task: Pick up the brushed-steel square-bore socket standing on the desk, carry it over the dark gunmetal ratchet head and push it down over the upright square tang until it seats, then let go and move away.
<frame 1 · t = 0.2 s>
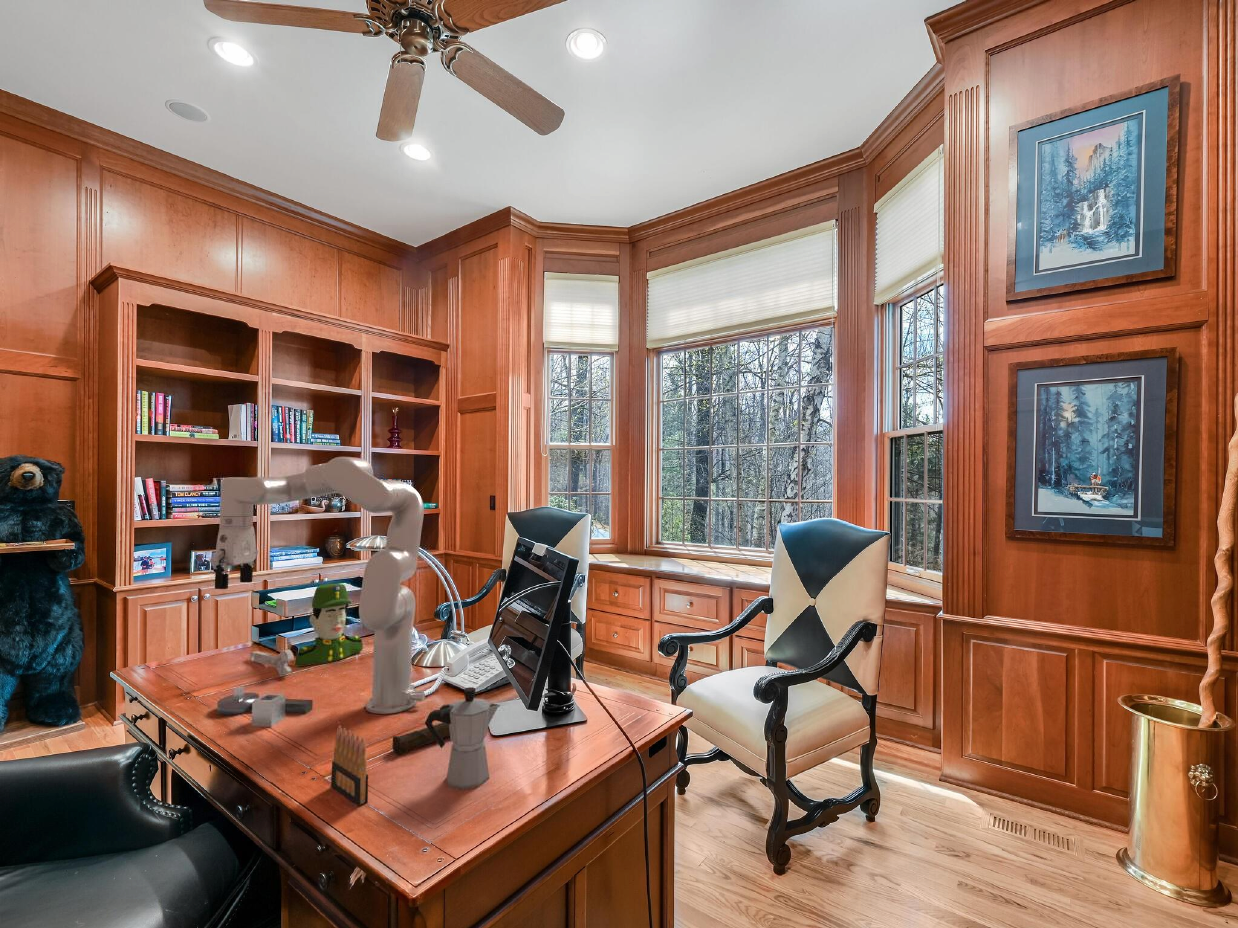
hand: (234, 585, 155), 31 cm above the table, tool pointing down, fingers open, 9 cm apart
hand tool: (433, 742, 132), on the table
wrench: (270, 670, 178), on the table
coffee maker: (462, 779, 115), on the table
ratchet: (238, 708, 148), on the table
socket: (268, 721, 140), on the table
ammunition clip: (348, 795, 109), on the table
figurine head: (330, 660, 189), on the table
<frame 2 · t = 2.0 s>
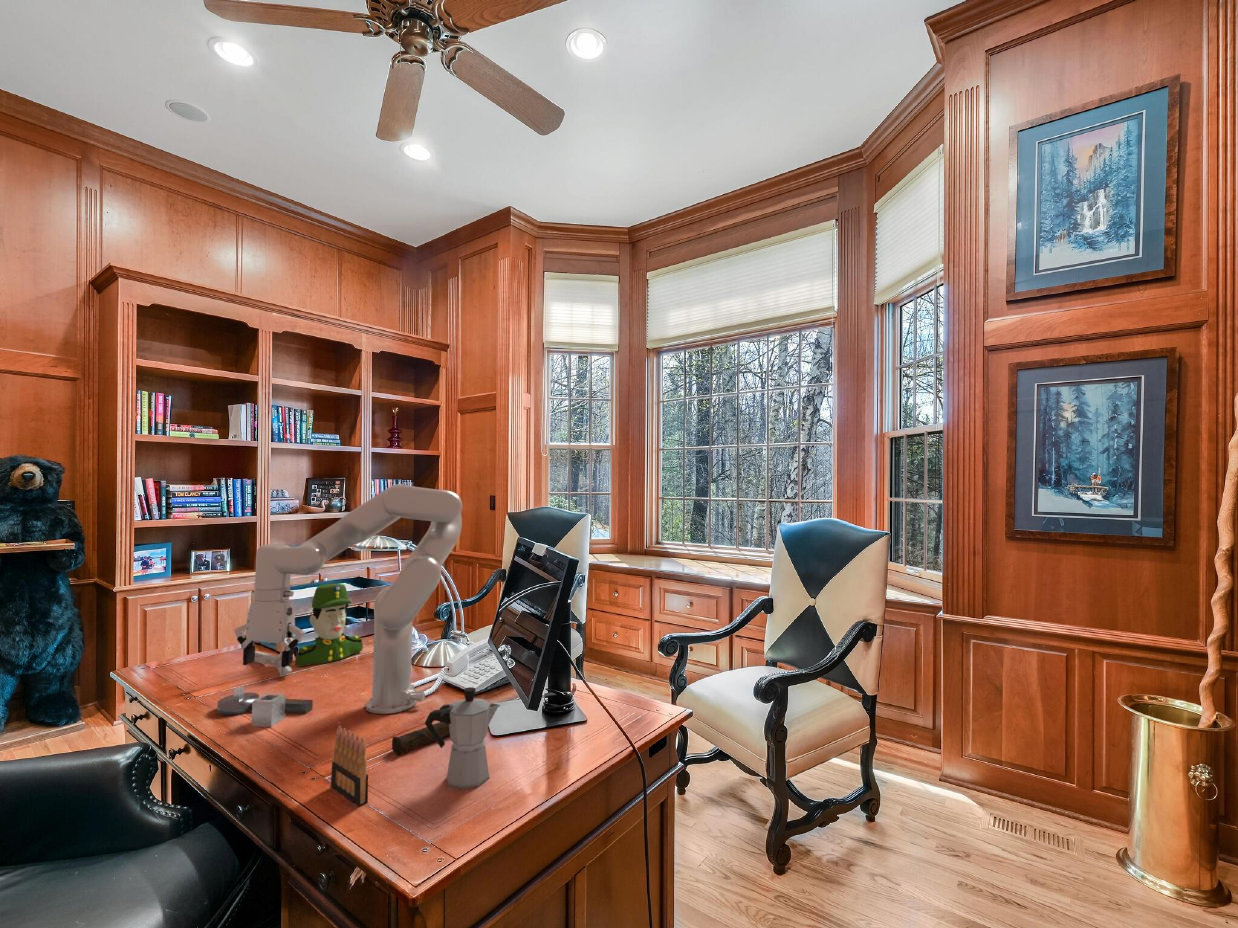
hand: (267, 664, 140), 14 cm above the table, tool pointing down, fingers open, 9 cm apart
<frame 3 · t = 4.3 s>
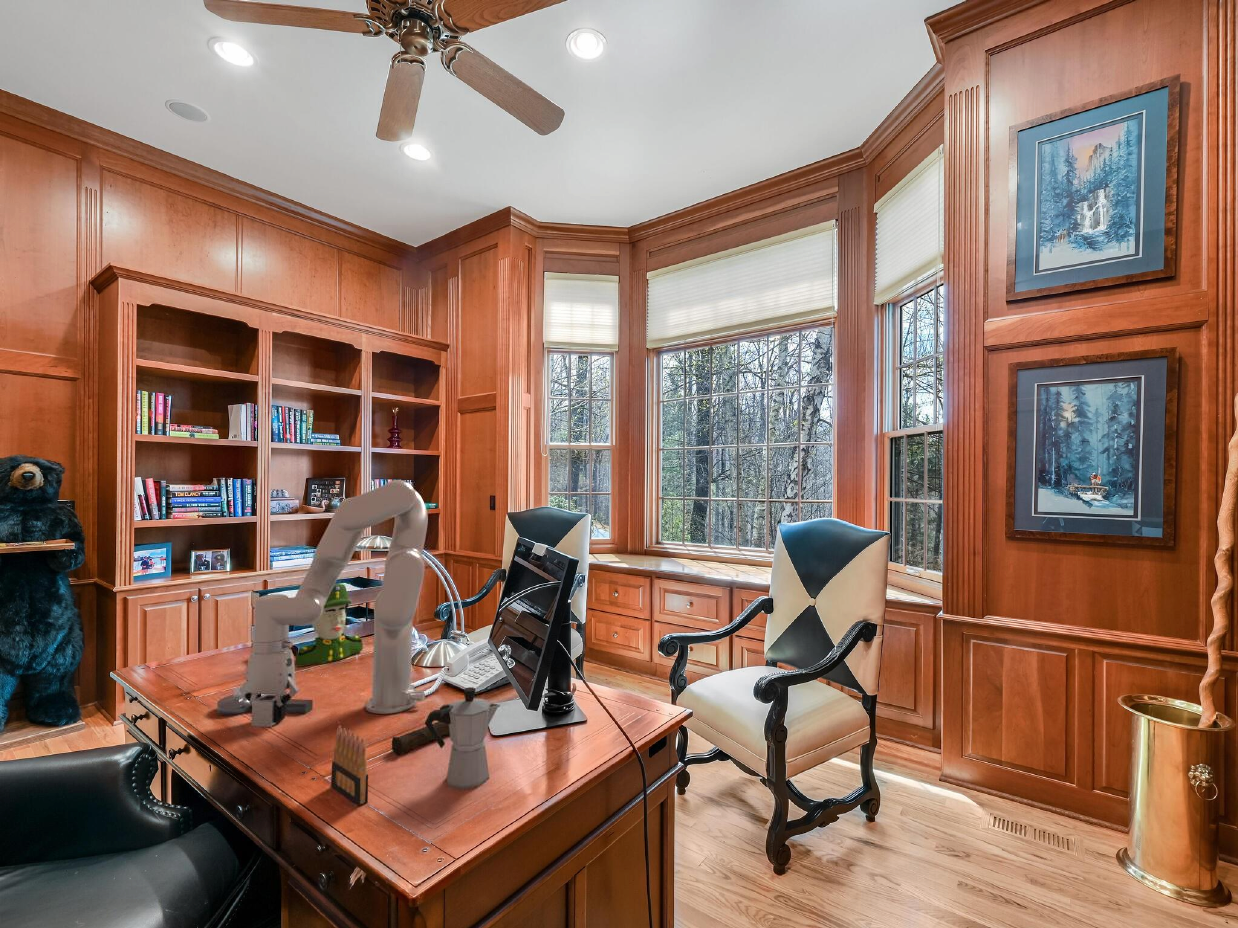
hand: (268, 719, 140), 1 cm above the table, tool pointing down, fingers closed on socket, 5 cm apart
socket: (268, 721, 140), on the table, touching gripper
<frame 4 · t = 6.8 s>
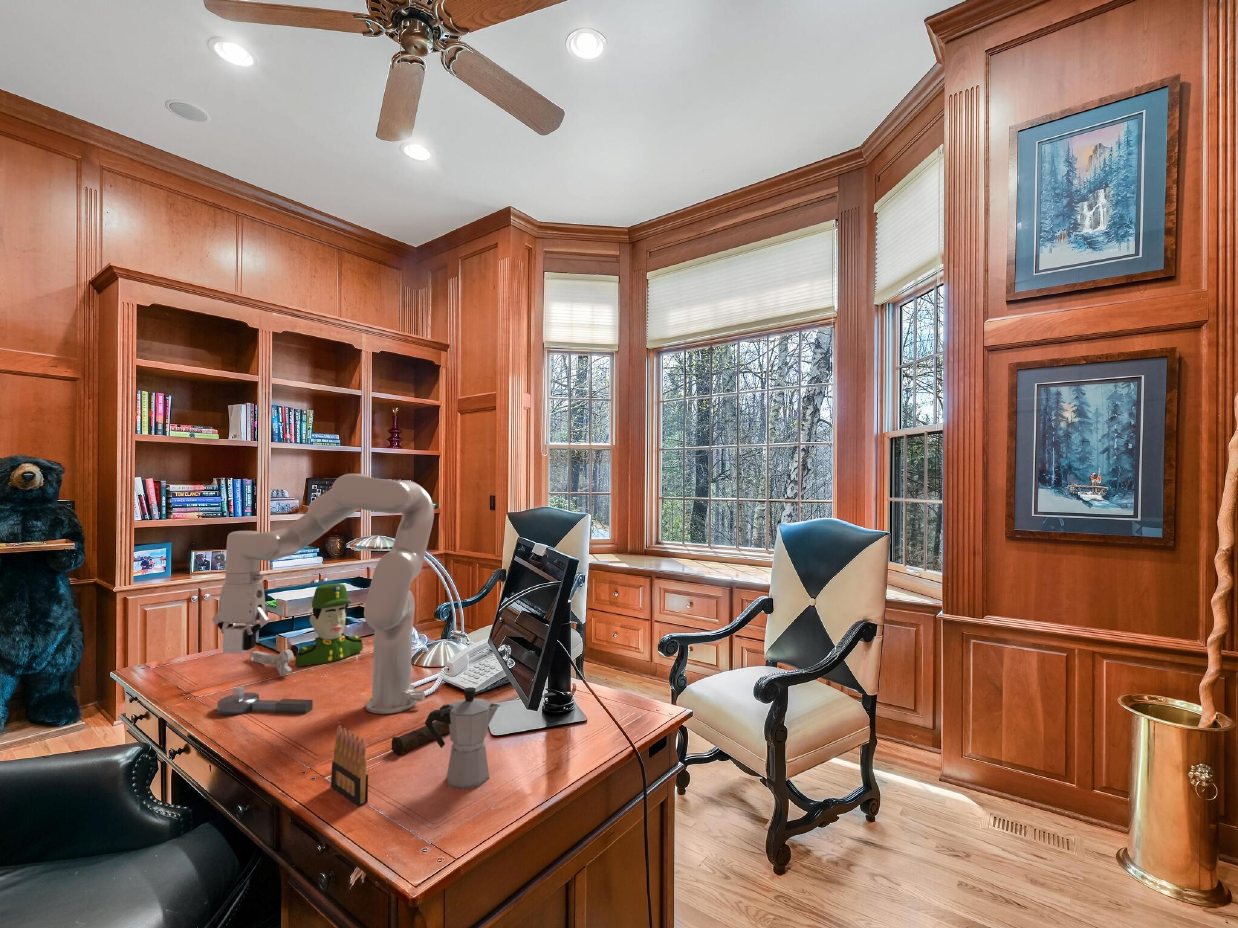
hand: (239, 647, 148), 16 cm above the table, tool pointing down, fingers closed on socket, 5 cm apart
socket: (239, 650, 148), point 15 cm above the table, touching gripper
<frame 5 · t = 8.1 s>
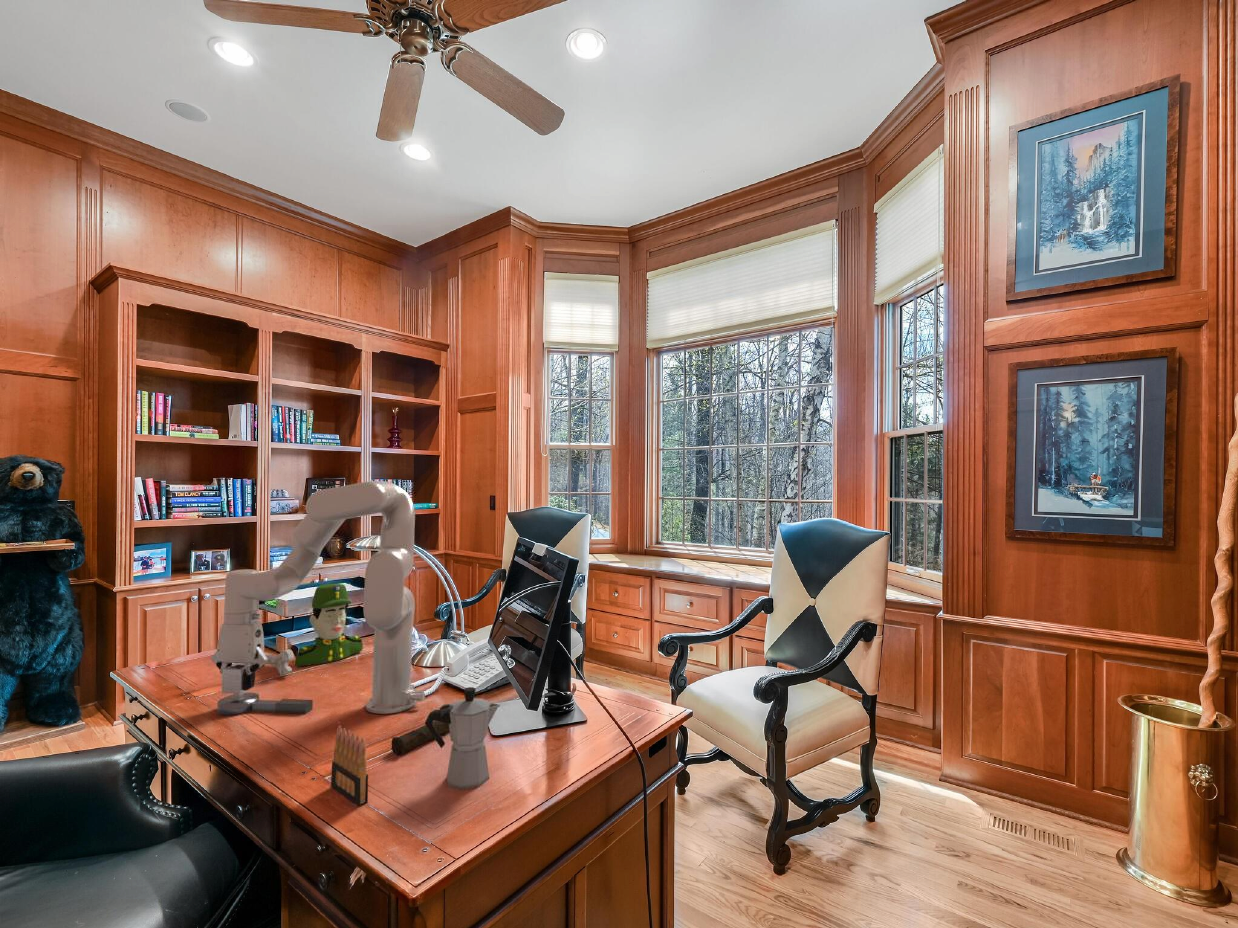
hand: (238, 687, 148), 6 cm above the table, tool pointing down, fingers closed on socket, 5 cm apart
socket: (237, 689, 148), point 5 cm above the table, touching gripper
when the fingers open (4 cm above the table, at t = 9.4 s): socket stays where it is, resting on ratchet.
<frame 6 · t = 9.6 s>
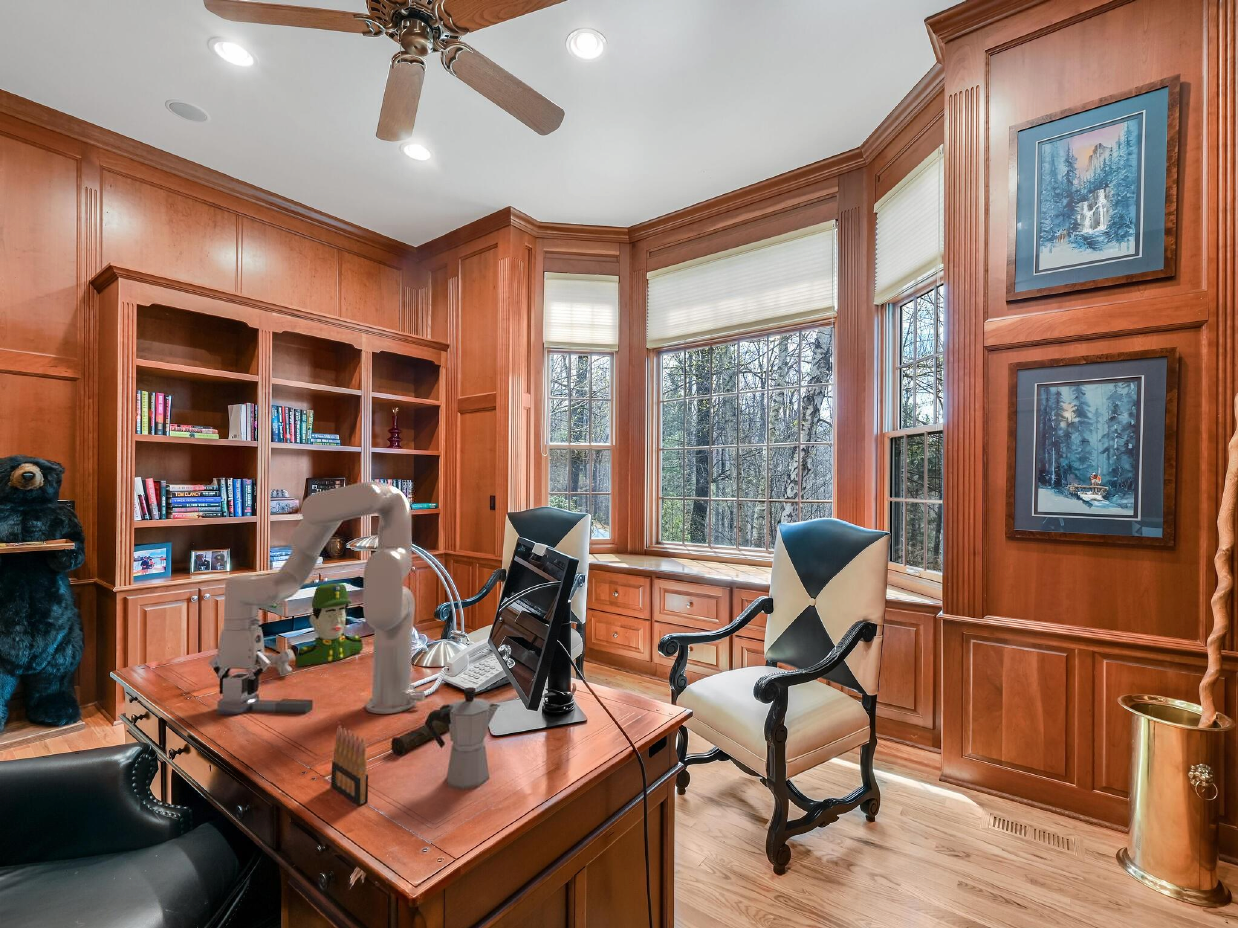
hand: (238, 691, 148), 4 cm above the table, tool pointing down, fingers open, 6 cm apart
socket: (238, 698, 148), point 2 cm above the table, touching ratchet
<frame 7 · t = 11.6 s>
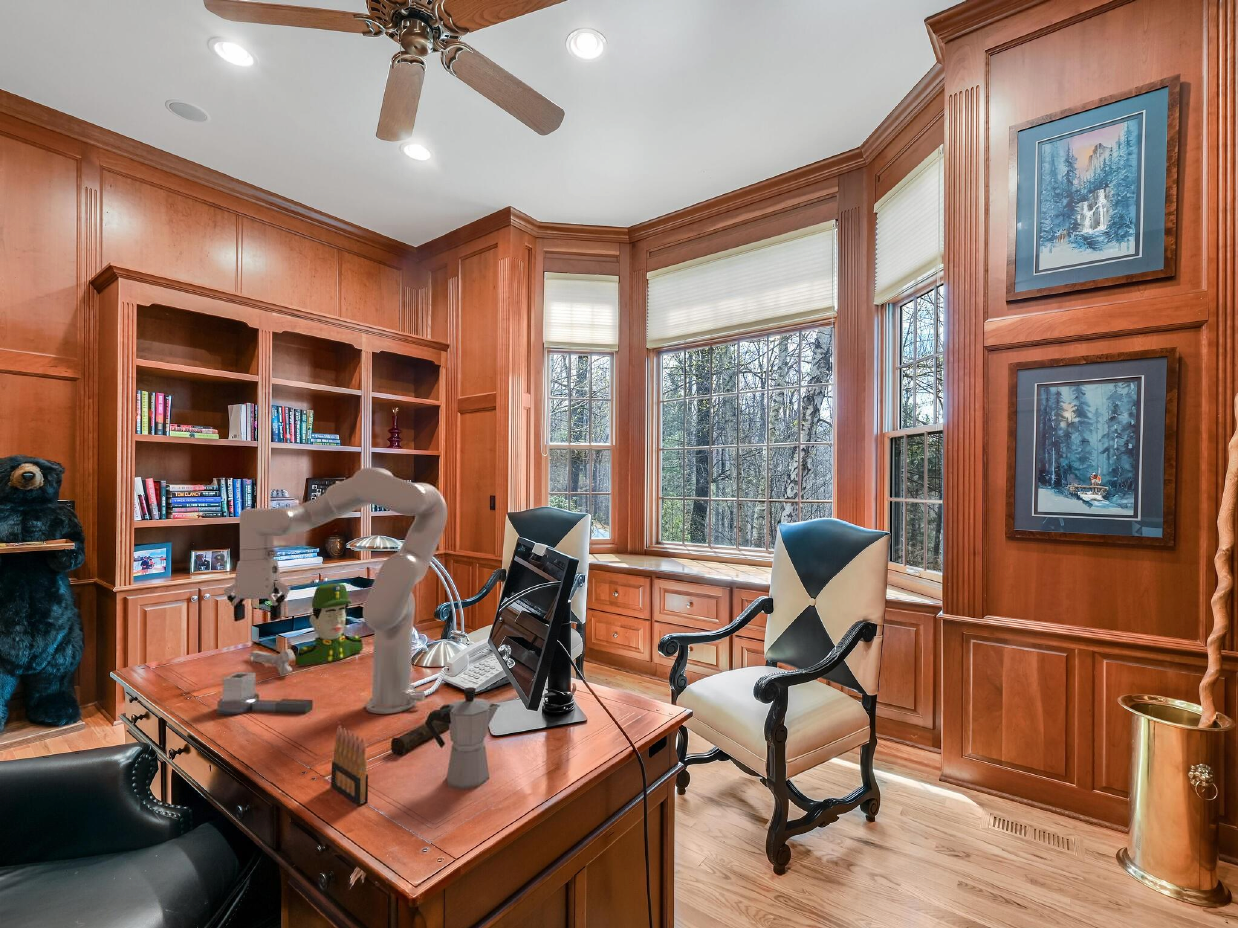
hand: (257, 619, 150), 23 cm above the table, tool pointing down, fingers open, 9 cm apart
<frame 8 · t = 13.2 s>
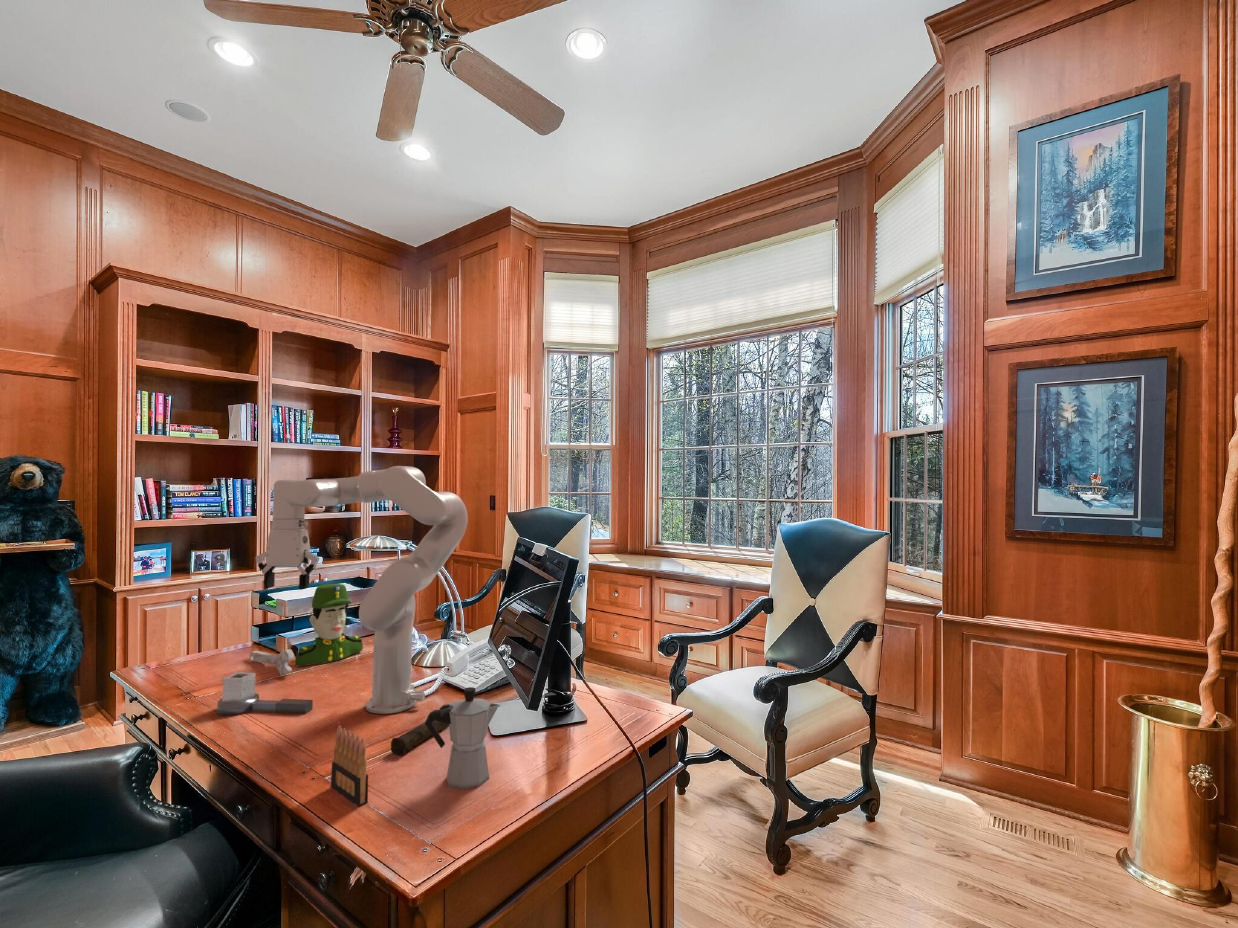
hand: (286, 588, 154), 30 cm above the table, tool pointing down, fingers open, 9 cm apart
at the end: socket 0.0 cm off-centre on the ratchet, point 2.5 cm above the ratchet's base; socket tilted 0°; the gripper is holding nothing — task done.
